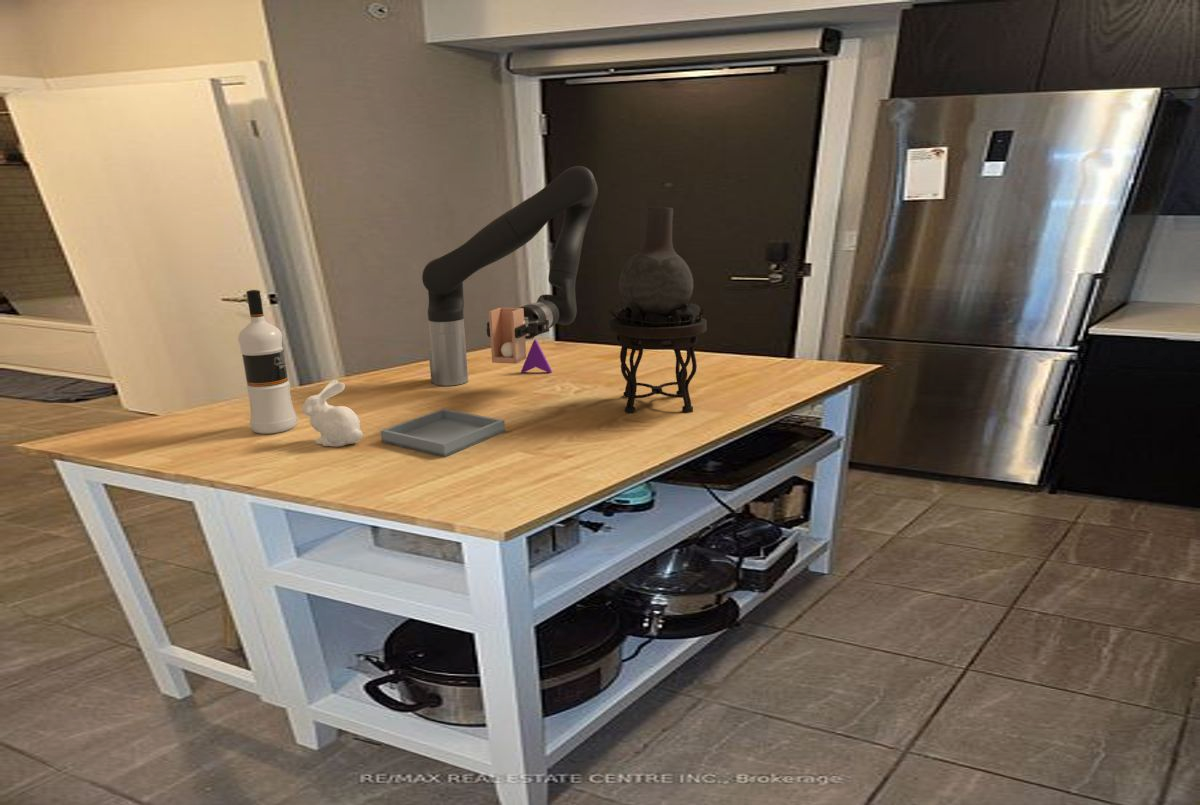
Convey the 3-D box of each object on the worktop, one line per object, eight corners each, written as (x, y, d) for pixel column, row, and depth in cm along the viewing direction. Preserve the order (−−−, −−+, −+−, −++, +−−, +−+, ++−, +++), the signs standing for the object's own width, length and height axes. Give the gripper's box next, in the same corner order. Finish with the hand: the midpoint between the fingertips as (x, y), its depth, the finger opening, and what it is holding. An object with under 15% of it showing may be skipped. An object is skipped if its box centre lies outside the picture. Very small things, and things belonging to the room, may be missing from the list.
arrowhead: (537, 386, 195) (560, 363, 192) (536, 388, 193) (560, 364, 191) (512, 363, 194) (535, 338, 191) (511, 364, 192) (534, 339, 190)
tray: (381, 442, 136) (380, 430, 136) (444, 419, 151) (443, 408, 150) (445, 457, 127) (444, 444, 127) (505, 431, 142) (504, 420, 141)
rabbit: (302, 444, 136) (293, 387, 133) (335, 430, 144) (328, 376, 141) (349, 451, 132) (341, 392, 128) (381, 436, 140) (374, 380, 137)
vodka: (251, 425, 149) (228, 289, 141) (297, 419, 153) (277, 286, 144) (251, 437, 141) (226, 293, 133) (299, 431, 145) (278, 290, 136)
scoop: (492, 362, 144) (488, 311, 141) (503, 357, 150) (499, 307, 147) (516, 363, 143) (513, 312, 140) (526, 358, 148) (523, 308, 145)
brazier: (598, 413, 153) (594, 207, 140) (622, 389, 173) (620, 207, 161) (697, 420, 147) (702, 205, 134) (709, 393, 168) (714, 205, 155)
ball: (498, 356, 146) (497, 345, 143) (509, 347, 147) (507, 336, 145) (510, 363, 144) (509, 353, 142) (520, 354, 146) (519, 344, 143)
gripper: (503, 303, 159) (470, 314, 143) (560, 304, 155) (533, 315, 139) (505, 335, 161) (473, 349, 145) (561, 336, 157) (535, 351, 141)
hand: (502, 332), depth 142 cm, fingers closed on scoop, 5 cm apart
